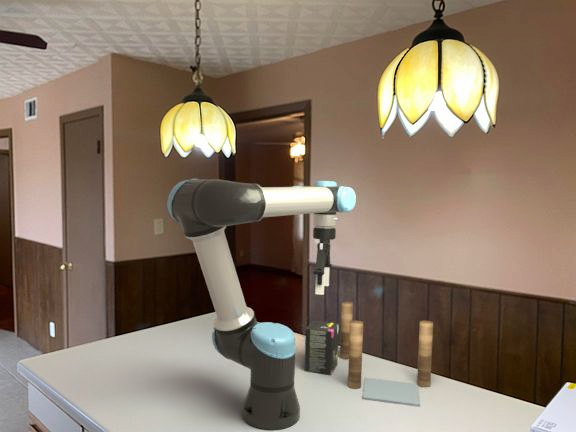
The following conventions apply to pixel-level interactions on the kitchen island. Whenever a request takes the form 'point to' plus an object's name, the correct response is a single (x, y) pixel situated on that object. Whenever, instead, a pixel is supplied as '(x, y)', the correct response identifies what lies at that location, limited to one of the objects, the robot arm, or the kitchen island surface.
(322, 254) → the robot arm
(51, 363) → the kitchen island surface
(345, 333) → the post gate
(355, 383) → the post corner
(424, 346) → the post
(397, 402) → the pad
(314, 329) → the tampon box
